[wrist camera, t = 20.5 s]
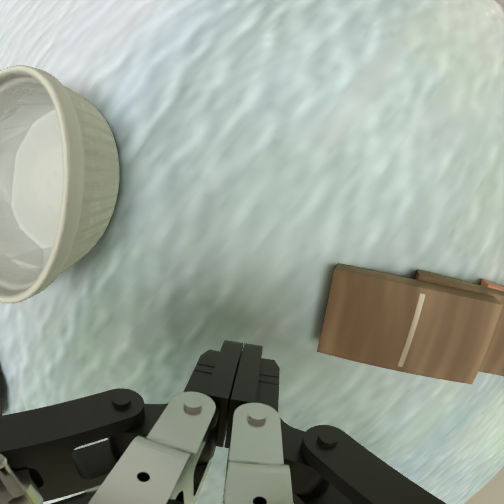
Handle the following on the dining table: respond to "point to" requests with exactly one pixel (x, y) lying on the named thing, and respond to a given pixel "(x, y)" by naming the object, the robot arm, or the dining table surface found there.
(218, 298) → the dining table surface
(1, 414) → the food plate
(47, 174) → the ramekin
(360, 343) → the domino
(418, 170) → the dining table surface
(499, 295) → the domino
